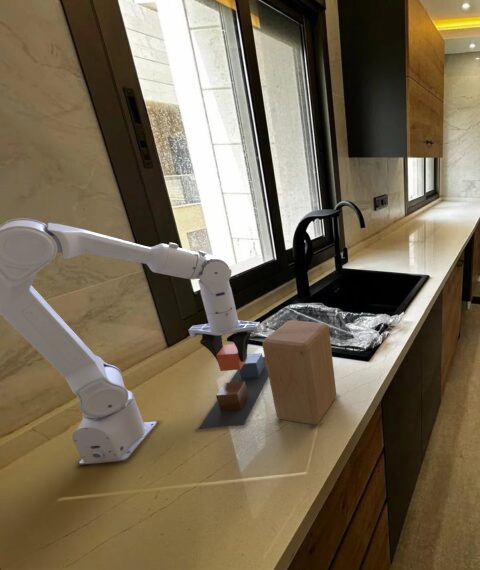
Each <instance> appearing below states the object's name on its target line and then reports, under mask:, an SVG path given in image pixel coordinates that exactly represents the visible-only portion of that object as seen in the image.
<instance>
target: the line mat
mask: <svg viewBox="0 0 480 570" xmlns="http://www.w3.org/2000/svg"><path fill="white" fill-rule="evenodd" d="M263 361H264V366H265V367H264V369H263V371H262V373H261V375H260V376H259V377H253V378H241V375H240V371H239V370H236V371H235V373H234V375H233V377H232V378H231V379H230V381H229V382H243V381H245V384H246V388H247V393H248V398H247V400H246V402H245V404H244V405H243V407H242V409H241V410H230V411H220V408H219V404H218V401H217V400H216V402H215V404H214V405H213V406H212V407H211V409H210V410H209V412H208V414H207V415H206V417H205V418H204V420H203V421H202V423H201V424H200V426H199V427H198V430H203V429H213V428H226V427H238V426H244V425H245V424H246V422H247V420H248V418H249V416H250V414H251V412H252V410H253V408H254V406H255V405H256V402H257V400H258V398H259V396H260V395H261V392H262V390H263V389H264V387H265V385H266V383H267V381H268V380H269V375H268V370H267V365H266V361H265V356H263Z"/></svg>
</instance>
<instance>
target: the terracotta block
mask: <svg viewBox="0 0 480 570" xmlns="http://www.w3.org/2000/svg"><path fill="white" fill-rule="evenodd" d="M216 356H217V360H218V361H217V360H216V361H217V363H218V367H219V371H220V372H225V371H226V372H227V371H238V370H240V369H241V368H242V366H243V365H244V363H245V362H246V360H247V358H246V359H245V361H244V362H241V360H240V358H239V354H238V350H237V348H236V346H235V344H234V343H232V344H223V347H222V349H221V350H220V351H219V352H218V353H217V355H216Z"/></svg>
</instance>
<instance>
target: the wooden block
mask: <svg viewBox="0 0 480 570" xmlns="http://www.w3.org/2000/svg"><path fill="white" fill-rule="evenodd" d="M262 351H263V357H265V361H266V365H267V370H268V375H269V377H268V381H269V385H270V389H271V395H272V400H273V405H274V409H275V415H276V417H277V418H278V419H279V420H282V421H283V420H284V421H288V422H295V423H301V424H307V425H311V426H315V425H318V424H319V423H320V421H321V420H322V419H323V417H324V415H325V414H326V413H327V411H328V410H329V408H330V407H331V405H332V404H333V402H334V400H335V399H336V397H337V386H336V378H335V369H334V362H333V361H334V360H333V353H332V352H333V351H332V343H331V334H330V327H329V325H328V324H327V323H325V322H324V323H323V322H315V321H314V322H313V321H305V320H296V319H290V320H287V321H286V322H285V323H282V325H280V326H279V327H278V328H277V329H275V330H274V331H273V332H272V333H270V334H269V335H268V336H266V338H264V339H263V341H262Z"/></svg>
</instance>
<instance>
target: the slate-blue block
mask: <svg viewBox="0 0 480 570" xmlns="http://www.w3.org/2000/svg"><path fill="white" fill-rule="evenodd" d="M263 357H264V355H263V353H261V352H260V353H259V352H258V353H247V360H246V362H245V363H244V365H243V366H242V368H241V369H240V370H239V371H240V375H241V378H253V377H259V376H260V375H261V373H262V371H263V369H264V367H265V366H264V361H263Z"/></svg>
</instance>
